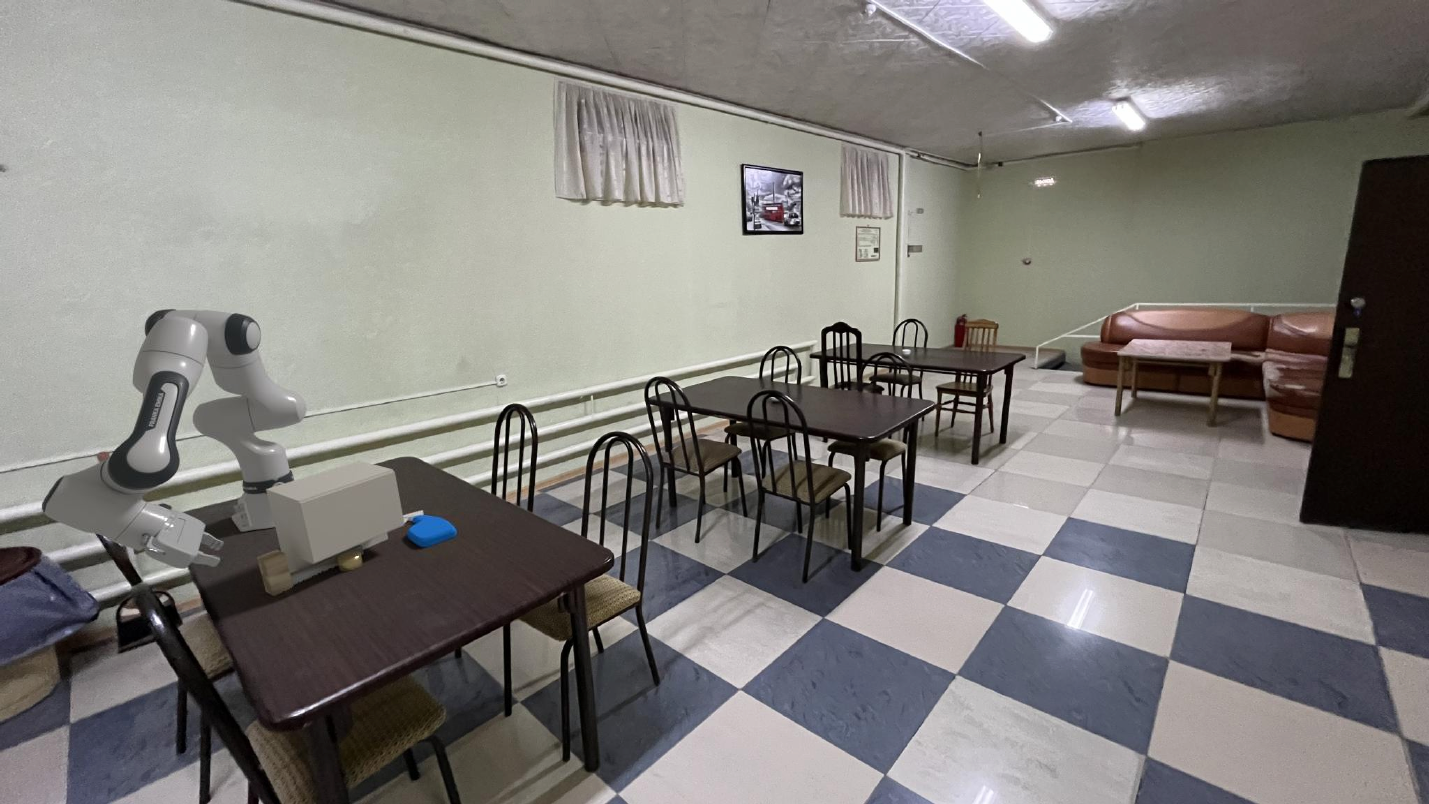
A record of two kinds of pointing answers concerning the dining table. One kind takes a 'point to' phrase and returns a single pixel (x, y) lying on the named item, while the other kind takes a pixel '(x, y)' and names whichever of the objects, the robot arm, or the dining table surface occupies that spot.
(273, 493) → the cabinet
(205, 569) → the dining table surface
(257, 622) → the dining table surface
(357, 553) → the brass puck
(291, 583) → the wooden handled saw
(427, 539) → the spray bottle
